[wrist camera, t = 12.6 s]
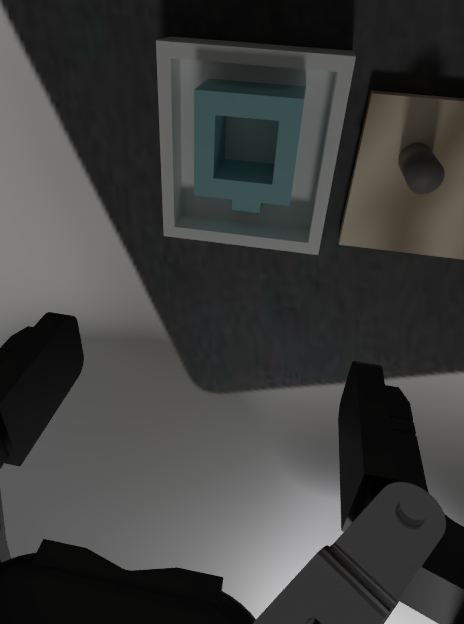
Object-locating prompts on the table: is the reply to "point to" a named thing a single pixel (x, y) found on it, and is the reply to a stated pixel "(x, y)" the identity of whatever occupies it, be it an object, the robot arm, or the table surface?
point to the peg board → (388, 187)
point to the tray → (251, 139)
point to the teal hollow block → (235, 173)
